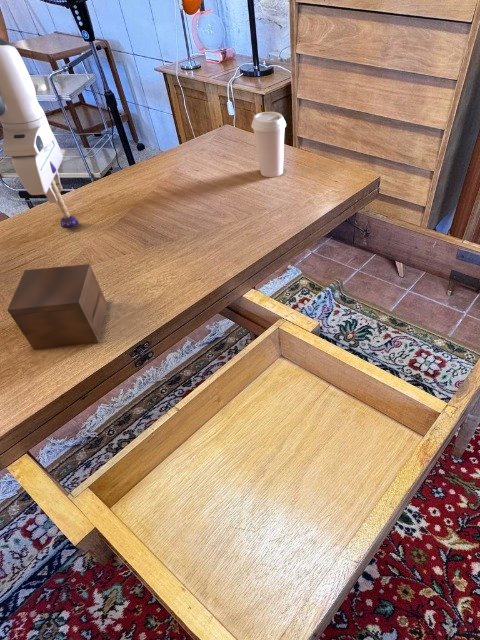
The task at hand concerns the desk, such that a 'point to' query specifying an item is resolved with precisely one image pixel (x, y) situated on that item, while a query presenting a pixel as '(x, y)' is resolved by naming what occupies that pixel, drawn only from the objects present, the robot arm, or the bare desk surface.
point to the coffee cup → (269, 142)
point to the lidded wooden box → (59, 306)
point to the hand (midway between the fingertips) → (56, 196)
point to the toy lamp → (63, 206)
